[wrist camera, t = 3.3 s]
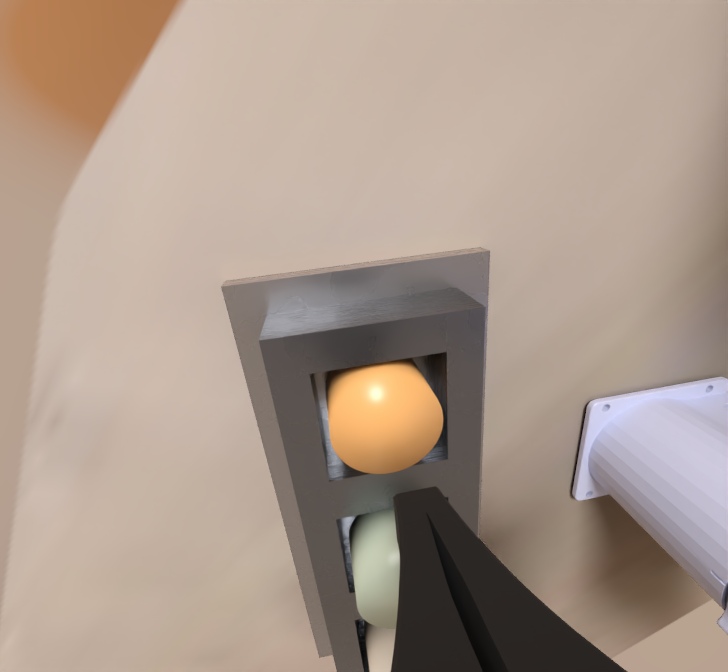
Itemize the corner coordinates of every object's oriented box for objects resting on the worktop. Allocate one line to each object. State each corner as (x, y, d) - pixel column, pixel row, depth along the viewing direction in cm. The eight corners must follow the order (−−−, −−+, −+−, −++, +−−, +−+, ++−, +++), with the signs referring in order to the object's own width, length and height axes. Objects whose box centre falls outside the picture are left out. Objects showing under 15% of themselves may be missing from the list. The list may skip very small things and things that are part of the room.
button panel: (480, 247, 17) (526, 263, 14) (470, 606, 28) (495, 668, 25) (225, 281, 16) (202, 308, 13) (319, 641, 27) (321, 712, 24)
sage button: (434, 489, 19) (459, 548, 16) (436, 551, 21) (459, 615, 18) (343, 506, 18) (351, 572, 15) (353, 569, 20) (362, 638, 17)
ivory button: (437, 586, 22) (458, 652, 19) (438, 633, 24) (458, 699, 21) (359, 604, 22) (368, 674, 18) (367, 650, 23) (376, 721, 20)
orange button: (418, 336, 17) (442, 368, 14) (421, 418, 19) (444, 462, 16) (318, 351, 17) (321, 388, 14) (332, 434, 19) (337, 482, 16)
